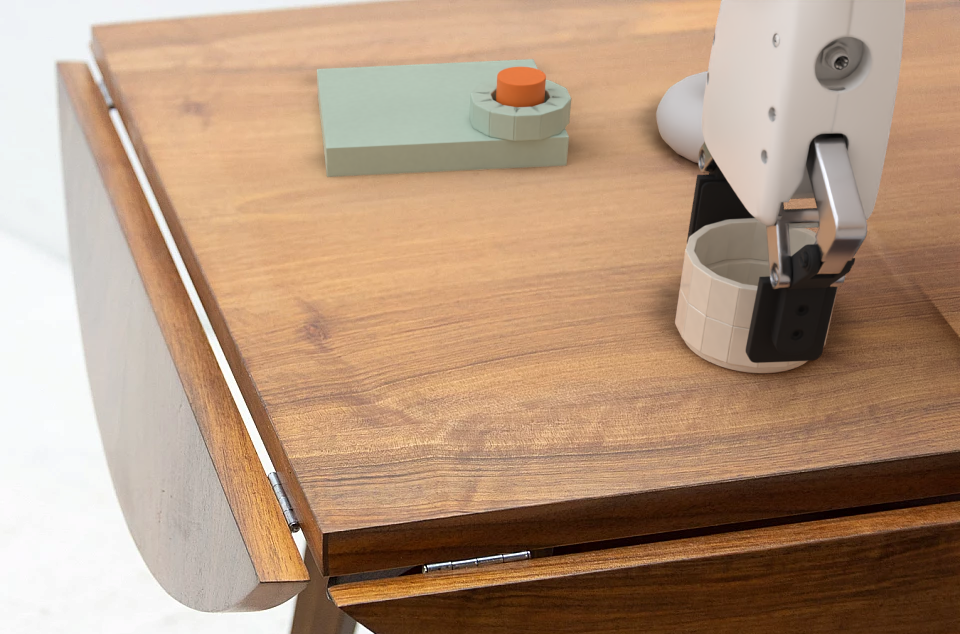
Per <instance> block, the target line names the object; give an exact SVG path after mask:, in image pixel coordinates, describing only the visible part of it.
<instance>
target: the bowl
mask: <svg viewBox="0 0 960 634" xmlns="http://www.w3.org/2000/svg"><path fill="white" fill-rule="evenodd" d="M816 234H817V232H816V231H815V230H812V229H810V228H792V229H789V235H790V250H791V256H792V255H793V254H795V253H796V252H797V251H799V250H800V249H801V248H802V247H804V246H805V245H807V244H814V243H815V241H816V238H815V235H816ZM767 276H769V261H768V246H767V232H766V225H764V224H763V223H761V222H759V221H758V220H757V219H756V218H748V219H728V220H724V221H720V222H717V223H713V224H709V225H706V226H704V227H702V228H701V229H699V230H698V231H697V232H695V233H694V234H692V235H691V236H690V237H689V240H688V243H687V242H686V247H685V250H684V257H683V262H682V271H681V277H680V278H681V279H680V284H679V285H680V286H679V291H678V299H677V306H676V312H675V320H674V324H675V327H676V329H677V331H678V333H679V334H680V335H679V336H680V337H681V339H682V340H683V342H684V344H686V346H687V347H688V349H690V350H691V351H692V352H693V353H694V354H695V355H696V356H698V357H699V358H701V359H702V360H705V361H706V362H708V363H711V364H713V365H716V366H718V367H721V368H724V369H728V370H731V371H732V370H733V371H737V372H742V373H750V374H772V373H773V374H775V373H783V372H787V371H790V370H794V369H796V368H799V367H801V366H803V365H804V364H806V363H807V362H808V361H792V362H767V363H754V362H751V361H750V359H749V358H748V356H747V354H746V344H747V339H748V334H749V329H750V324H751V319H752V313H753V308H754V303H755V298H756V293H757V287H758V282H759V277H767ZM837 289H839V287H837ZM837 292H838V291H837ZM837 292H836V294H837ZM836 297H837V295H836V296H835V300H834V304H833V309H832V313H831V317H830V322H829V326H828V330H827V335H826V339H825V343H824V346H826V343H827V338H828V333H829V330H830V324H831V320H832V316H833V311H834V306H835V302H836Z"/></svg>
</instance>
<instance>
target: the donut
mask: <svg viewBox="0 0 960 634" xmlns="http://www.w3.org/2000/svg"><path fill="white" fill-rule="evenodd" d="M707 72H708V70H705V71H702V72H698V73H695V74H691V75H688V76H686V77H684V78H682V79H681V80H679V81H677V82H676V83H674V84H673V85H671V86H670V87H668V89H667V90H666V92H665V93H664V95H663V96H662V98H661V100H660V101H659V103H658V106H657V109H656V111H655V118H656V119H655V120H656V124H657V128H658V132H659V134H660V137H661V139H662V140H663V141H664V142H665V143H666V144H667V145H668V146H669V147H670V148H671V149H672V151H674V152H675V153H676V154H677V155H679V156H680V157H681V156H682V157H683V158H685V159H687V160H689V161H691V162H693V163H695V164H698V155H699V150H700V148H701V146H702V145H703V143H704V142H705V141H704V137H703V133H702V113H703V102H704V94H705V86H706V79H707Z"/></svg>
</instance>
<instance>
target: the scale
mask: <svg viewBox="0 0 960 634" xmlns="http://www.w3.org/2000/svg"><path fill="white" fill-rule="evenodd" d="M511 67H530V68H535V69H538V70H539V67H538V65H537V63H536V61H535V59H534V58H527V59H525V58H524V59H523V58H522V59H505V60H503V59H502V60H483V61H482V60H481V61H480V60H479V61H462V62H440V63H438V62H437V63H436V62H435V63H417V64H416V63H415V64H398V65H397V64H396V65H376V66H375V65H373V66H355V67H353V66H352V67H332V68H317V69H316V86H317V87H316V88H317V102H318V109H319V119H320V128H321V134H322V135H321V137H322V146H323V154H324V163H325V172H326V177H327V178H333V177H334V178H337V177H354V176H356V177H357V176H375V175H376V176H377V175H378V176H379V175H397V174H399V175H400V174H401V175H402V174H419V173H441V172H460V171H463V172H464V171H480V170H481V171H482V170H498V169H499V170H503V169H523V168H544V167H565V166H566V167H567V165H568V155H569V143H570V136H569V134H568V132H567V129H566V128H567V127H568V126H569V124H570V122H571V121H570V120H571V119H570V118H571V108H572V96H571V95H570V92H569V91H568V88H566V87H565V86H563V85H561V84H558V83H556V82H554V81H552V80H549V79H546V85H545V99H544V103H542V104H539V105H536V106H533V107H512V106H506V105H502V104H500V103H498V102H496V90H497V75H498V73H499V72H500V71H502V70H504V69H506V68H511Z"/></svg>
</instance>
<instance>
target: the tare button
mask: <svg viewBox="0 0 960 634" xmlns="http://www.w3.org/2000/svg"><path fill="white" fill-rule="evenodd" d="M546 80H547V76H546V73H545V72H544V71H542V70H540V69H539V68H538V69H535V68H530V67H511V68H506V69H504V70H502V71H500V72H499V73H498V75H497V90H496V102H498V103H500V104H502V105H506V106H512V107H533V106H536V105H539V104H542V103H544V99H545V85H546Z"/></svg>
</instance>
